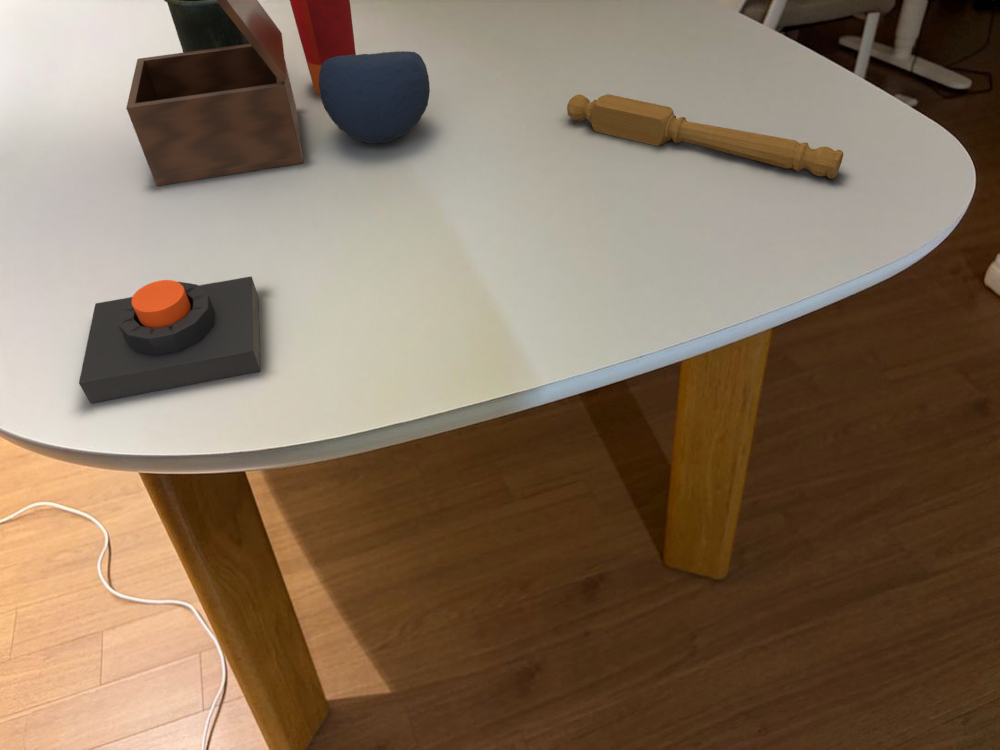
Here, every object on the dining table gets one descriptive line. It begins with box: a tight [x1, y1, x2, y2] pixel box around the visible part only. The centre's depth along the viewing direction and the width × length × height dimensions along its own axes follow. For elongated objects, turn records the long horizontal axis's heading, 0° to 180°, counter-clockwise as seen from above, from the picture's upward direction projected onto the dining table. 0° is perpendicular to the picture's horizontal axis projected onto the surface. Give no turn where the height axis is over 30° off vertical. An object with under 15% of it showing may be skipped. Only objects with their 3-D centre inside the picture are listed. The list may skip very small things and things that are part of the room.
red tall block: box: [289, 0, 357, 96], centre depth 96 cm, size 8×8×14 cm
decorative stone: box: [319, 50, 431, 145], centre depth 88 cm, size 12×12×10 cm
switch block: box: [78, 276, 261, 404], centre depth 65 cm, size 13×10×4 cm
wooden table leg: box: [566, 93, 844, 180], centre depth 85 cm, size 3×3×30 cm
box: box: [125, 44, 304, 187], centre depth 88 cm, size 16×13×9 cm
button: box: [131, 279, 191, 328], centre depth 63 cm, size 4×4×2 cm
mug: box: [163, 0, 250, 53], centre depth 100 cm, size 11×15×12 cm
